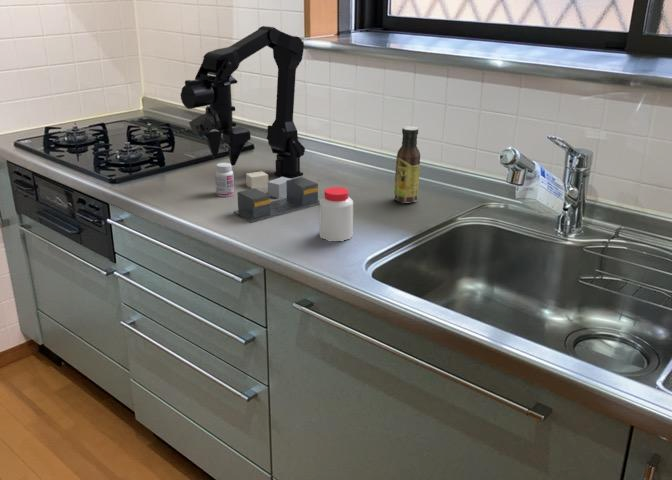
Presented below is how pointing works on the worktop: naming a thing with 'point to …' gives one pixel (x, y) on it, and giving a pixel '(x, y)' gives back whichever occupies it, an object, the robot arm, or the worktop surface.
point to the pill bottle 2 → (336, 214)
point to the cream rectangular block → (257, 180)
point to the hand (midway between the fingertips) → (223, 161)
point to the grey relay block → (278, 187)
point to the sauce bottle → (407, 167)
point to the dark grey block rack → (259, 206)
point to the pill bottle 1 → (224, 180)
